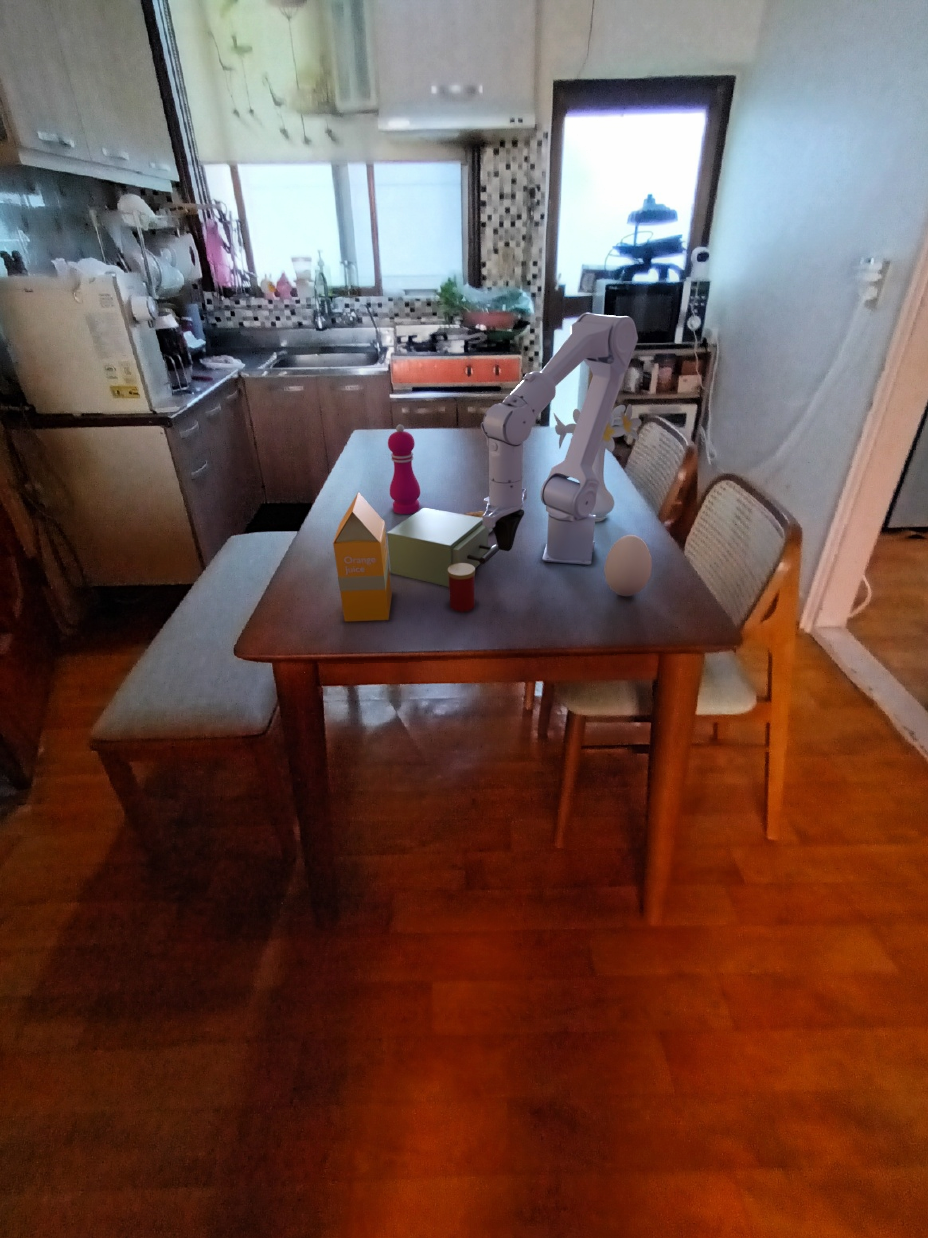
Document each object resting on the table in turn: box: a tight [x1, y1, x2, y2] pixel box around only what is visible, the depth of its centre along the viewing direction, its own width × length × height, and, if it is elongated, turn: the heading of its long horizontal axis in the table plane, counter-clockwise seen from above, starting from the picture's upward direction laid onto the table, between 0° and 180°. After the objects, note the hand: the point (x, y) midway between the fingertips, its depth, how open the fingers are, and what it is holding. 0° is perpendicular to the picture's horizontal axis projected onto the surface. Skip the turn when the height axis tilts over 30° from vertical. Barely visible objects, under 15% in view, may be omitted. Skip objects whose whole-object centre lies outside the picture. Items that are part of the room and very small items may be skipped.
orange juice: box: [332, 491, 393, 622], centre depth 104 cm, size 8×9×20 cm
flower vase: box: [553, 404, 642, 523], centre depth 135 cm, size 13×18×25 cm
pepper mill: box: [387, 423, 421, 515], centre depth 143 cm, size 7×7×20 cm
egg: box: [603, 534, 653, 597], centre depth 109 cm, size 8×8×11 cm
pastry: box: [461, 510, 493, 535], centre depth 137 cm, size 9×7×4 cm
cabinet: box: [386, 507, 483, 588], centre depth 121 cm, size 14×14×9 cm
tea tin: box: [448, 563, 476, 612], centre depth 108 cm, size 5×5×7 cm
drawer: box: [452, 524, 500, 569], centre depth 119 cm, size 16×12×7 cm
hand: (505, 549), depth 114 cm, fingers closed
